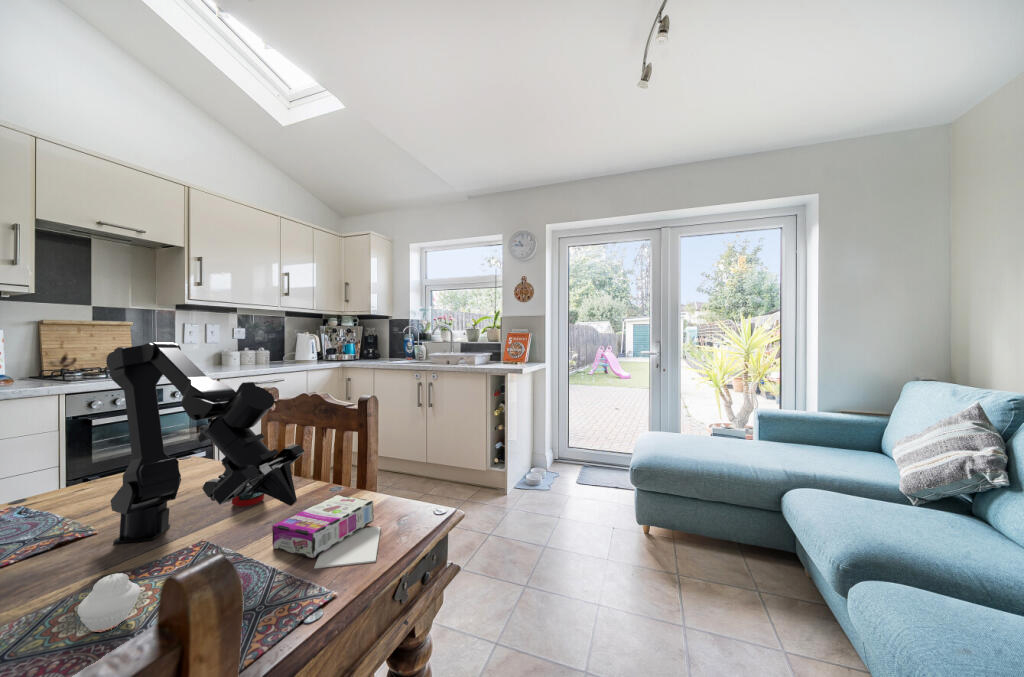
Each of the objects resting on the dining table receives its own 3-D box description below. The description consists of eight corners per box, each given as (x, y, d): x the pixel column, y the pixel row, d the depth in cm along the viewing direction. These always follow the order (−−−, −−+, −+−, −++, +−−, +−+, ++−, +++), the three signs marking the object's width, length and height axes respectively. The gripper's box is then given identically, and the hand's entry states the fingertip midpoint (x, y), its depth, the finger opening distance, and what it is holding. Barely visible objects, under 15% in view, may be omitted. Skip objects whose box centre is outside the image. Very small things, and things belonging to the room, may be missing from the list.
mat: (314, 568, 69) (314, 566, 69) (329, 532, 83) (329, 530, 83) (375, 562, 72) (375, 560, 72) (380, 527, 85) (380, 526, 85)
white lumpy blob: (65, 633, 52) (69, 581, 52) (124, 605, 58) (127, 559, 58) (90, 647, 50) (93, 593, 50) (148, 617, 56) (151, 568, 56)
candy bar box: (312, 560, 71) (374, 521, 86) (312, 533, 71) (374, 499, 86) (271, 550, 75) (337, 514, 91) (270, 524, 75) (337, 493, 91)
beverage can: (247, 510, 92) (250, 460, 92) (224, 507, 93) (226, 457, 94) (270, 499, 99) (272, 453, 99) (248, 497, 100) (250, 450, 100)
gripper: (241, 458, 81) (290, 512, 81) (160, 490, 62) (224, 561, 62) (280, 422, 81) (329, 475, 81) (211, 443, 63) (275, 513, 62)
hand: (294, 503), depth 72 cm, fingers closed
